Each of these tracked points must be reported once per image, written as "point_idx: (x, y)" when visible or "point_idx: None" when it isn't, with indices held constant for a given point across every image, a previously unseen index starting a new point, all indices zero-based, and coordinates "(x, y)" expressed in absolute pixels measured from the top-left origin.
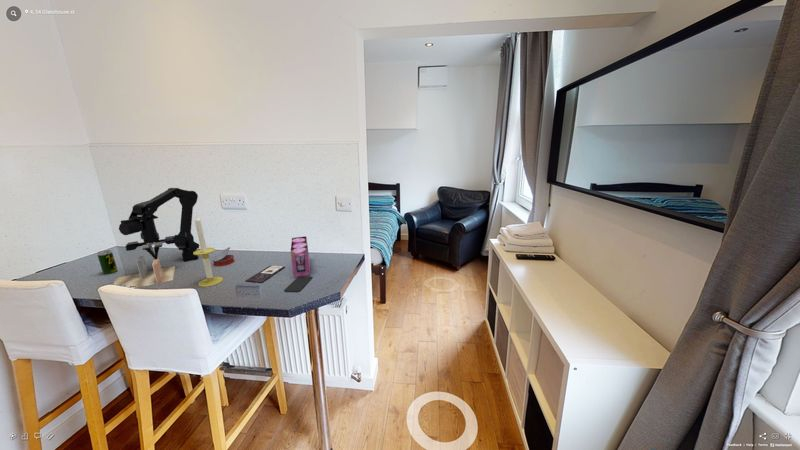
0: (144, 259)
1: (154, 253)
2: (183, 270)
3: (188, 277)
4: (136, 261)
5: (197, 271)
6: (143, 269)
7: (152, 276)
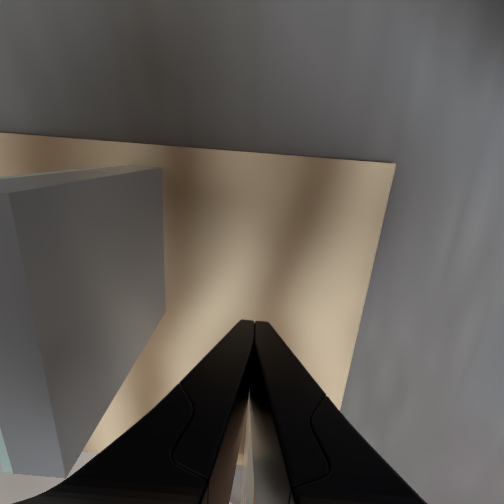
0: (73, 201)
1: (241, 398)
2: (421, 324)
3: (408, 473)
4: (10, 466)
5: (488, 414)
6: (133, 361)
7: (209, 322)
